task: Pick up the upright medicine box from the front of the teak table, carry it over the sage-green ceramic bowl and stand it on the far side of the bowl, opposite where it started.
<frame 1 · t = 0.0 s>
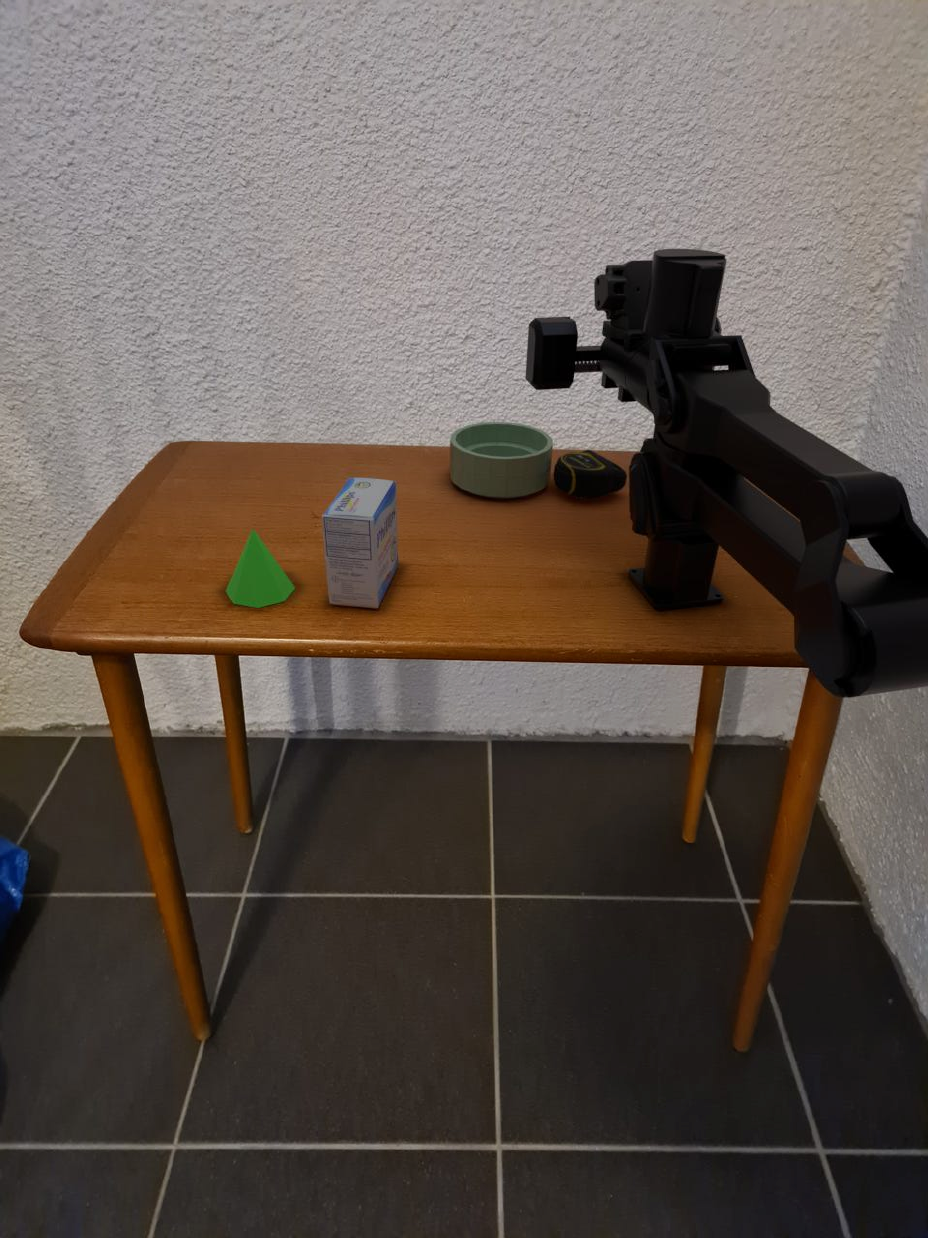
hand: (591, 329, 86), 17 cm above the table, tool horizontal, fingers open, 9 cm apart
tape measure: (586, 491, 92), on the table
green faceted cone: (260, 591, 72), on the table
bowl: (499, 481, 93), on the table
medicine box: (364, 587, 73), on the table
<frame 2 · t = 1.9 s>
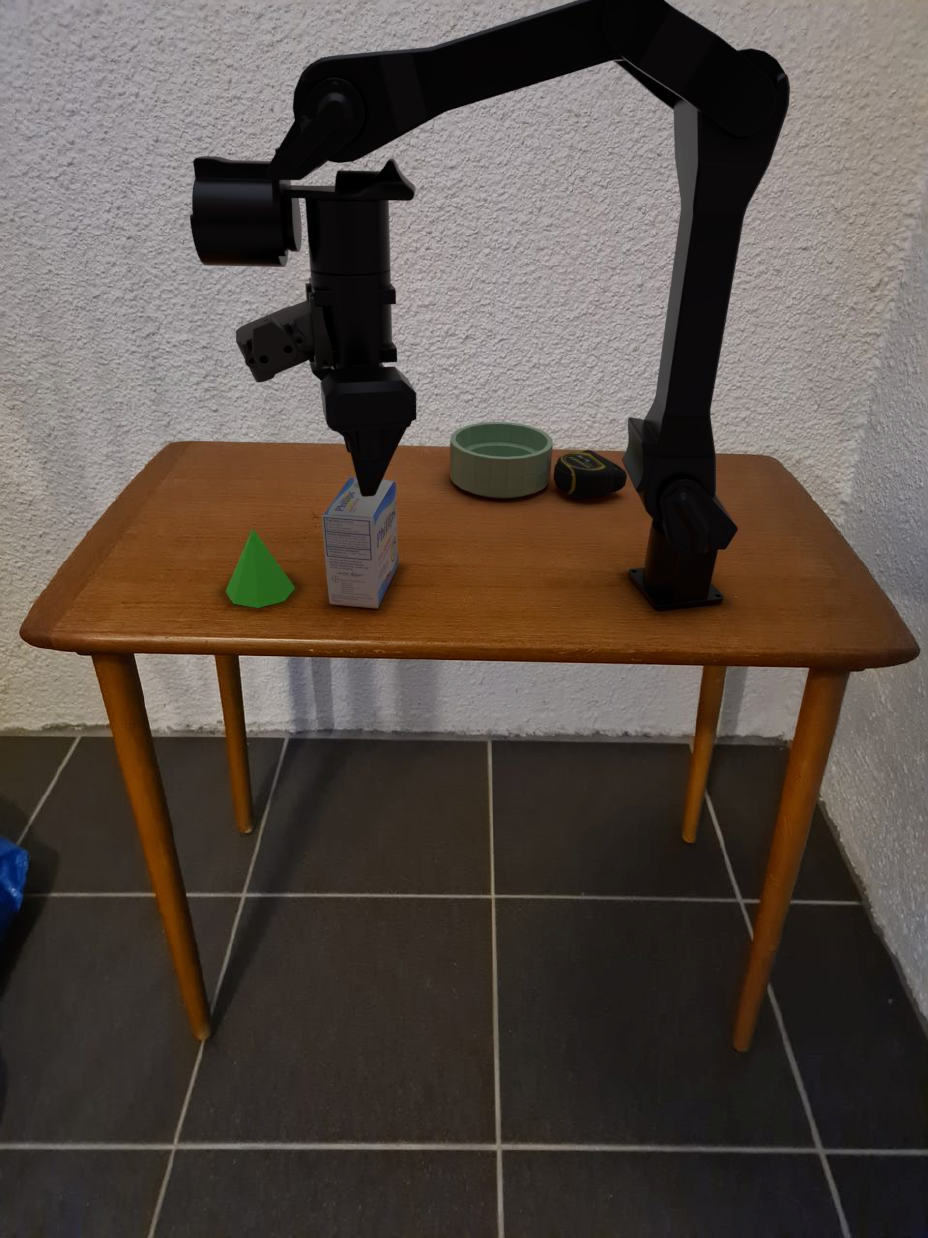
hand: (360, 472, 68), 11 cm above the table, tool pointing down, fingers open, 9 cm apart
nothing on the table moved.
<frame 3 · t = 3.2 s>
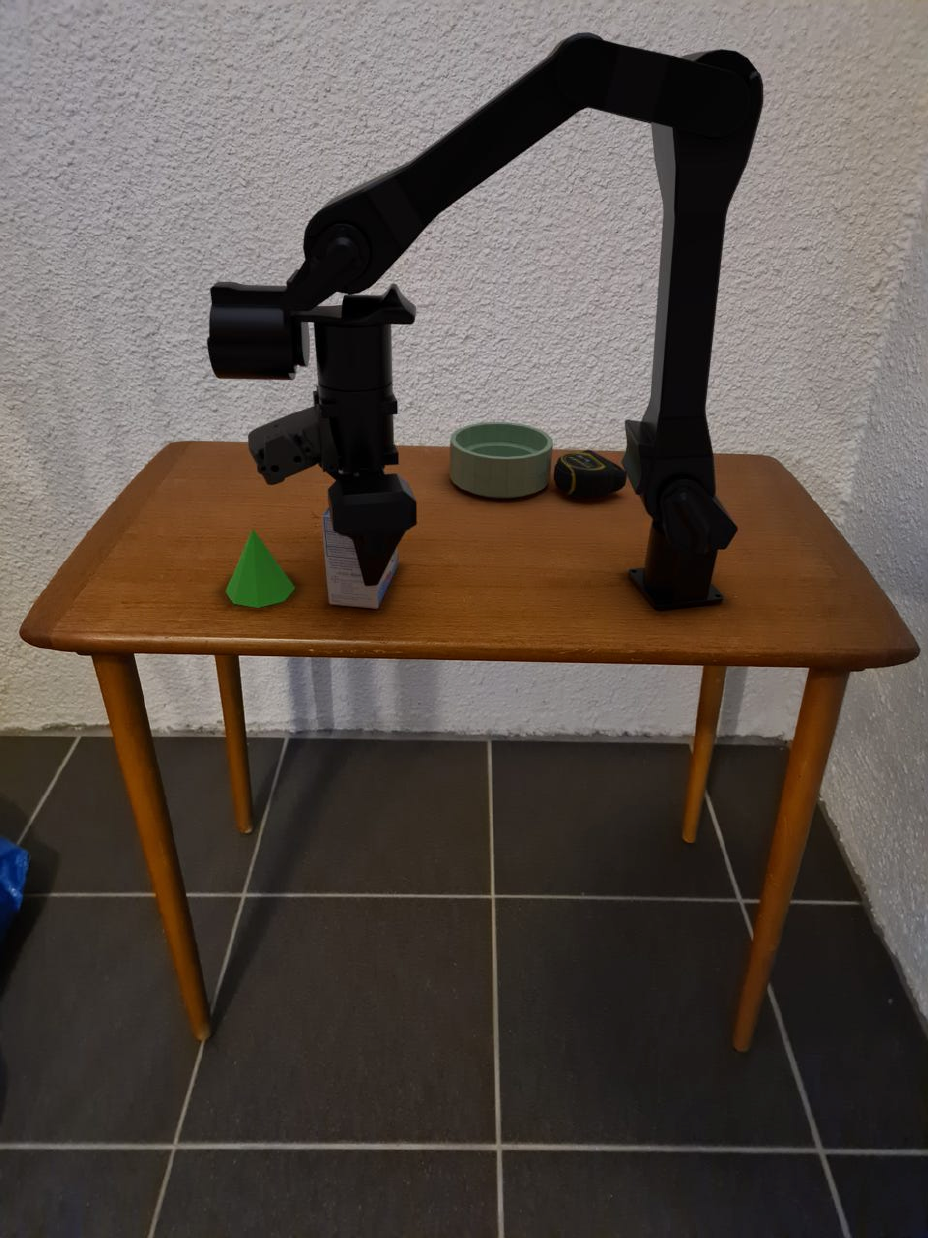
hand: (363, 558, 72), 3 cm above the table, tool pointing down, fingers closed on medicine box, 9 cm apart
medicine box: (364, 587, 73), on the table, touching gripper
everything else where it was.
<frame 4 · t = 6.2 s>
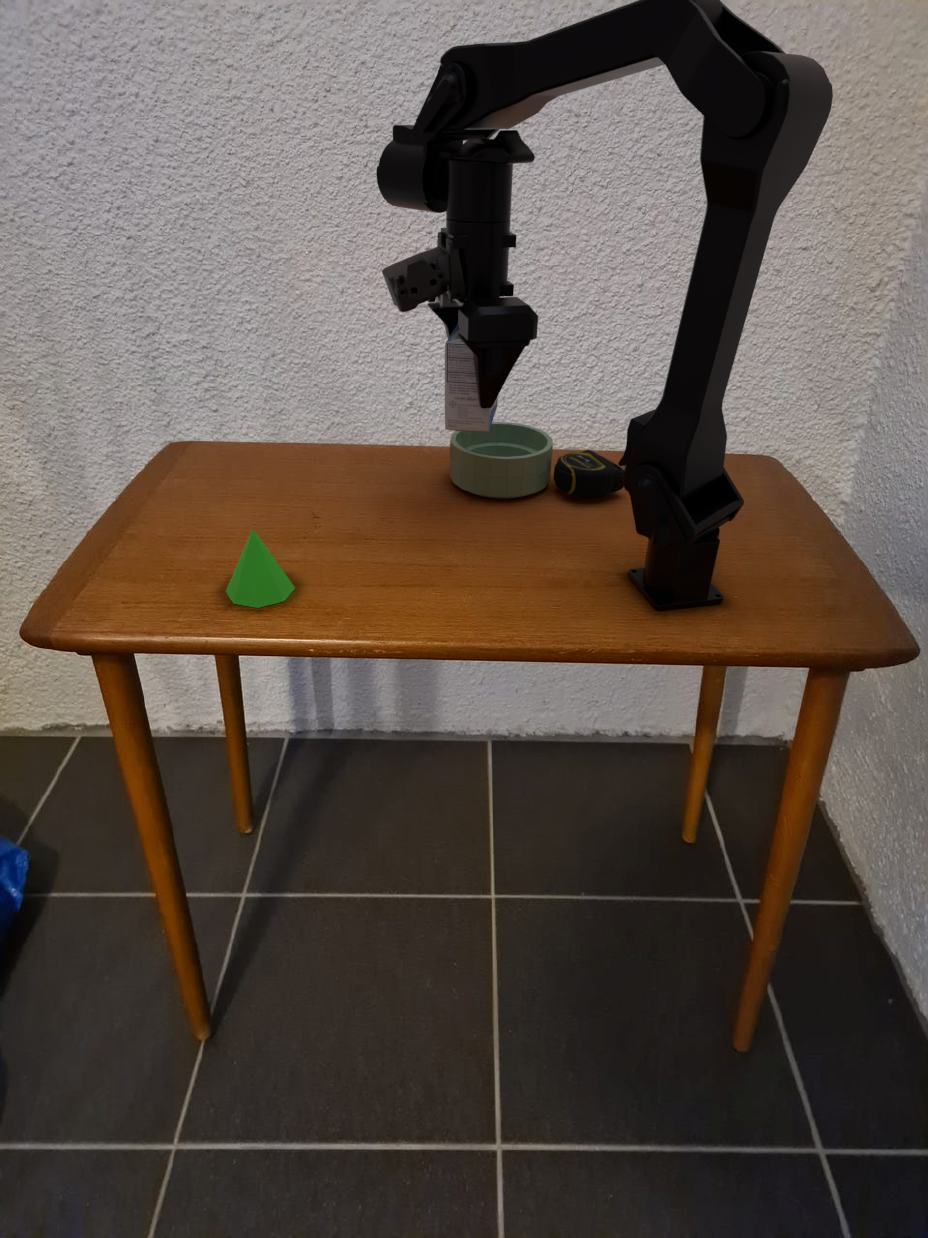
hand: (473, 392, 82), 12 cm above the table, tool pointing down, fingers closed on medicine box, 9 cm apart
medicine box: (471, 421, 83), point 9 cm above the table, touching gripper
everything else where it was.
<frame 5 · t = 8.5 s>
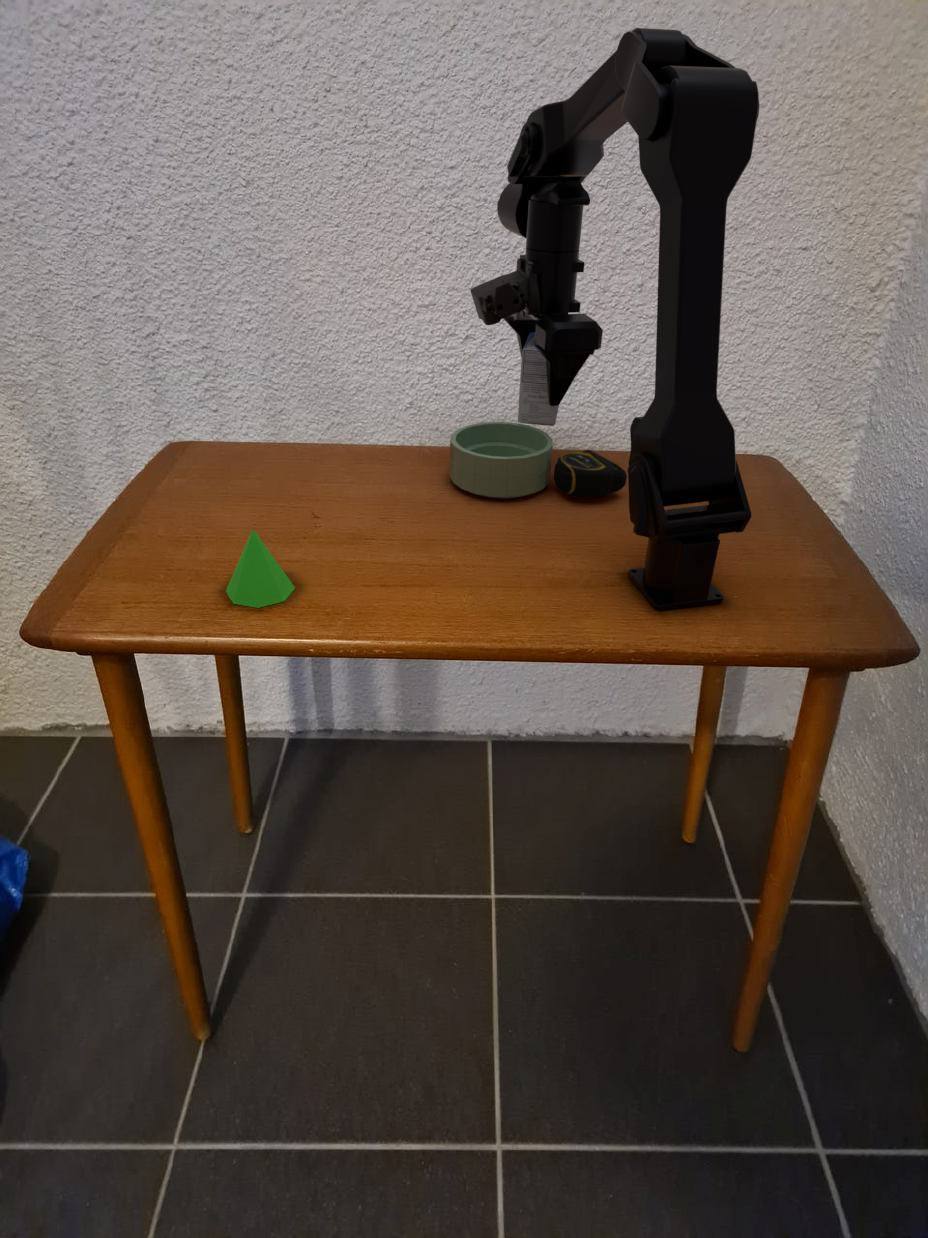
hand: (541, 392, 97), 8 cm above the table, tool pointing down, fingers closed on medicine box, 9 cm apart
medicine box: (538, 416, 98), point 5 cm above the table, touching bowl, gripper
everything else where it was.
when the fingers open (4 cm above the table, at t = 9.7 s): medicine box drops 2 cm, on the table.
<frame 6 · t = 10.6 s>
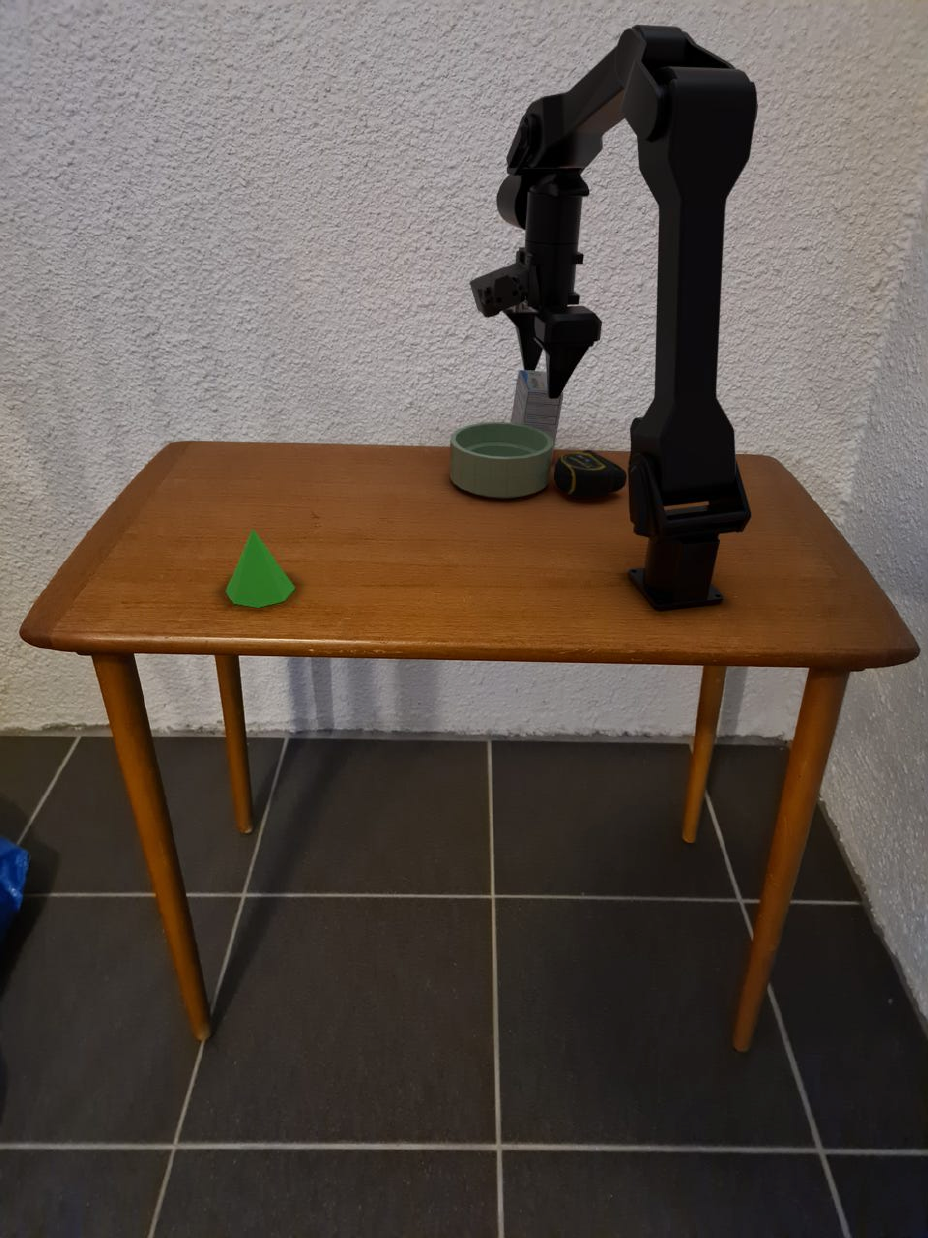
hand: (540, 385, 96), 8 cm above the table, tool pointing down, fingers open, 9 cm apart
medicine box: (528, 451, 101), on the table, touching gripper
everything else where it was.
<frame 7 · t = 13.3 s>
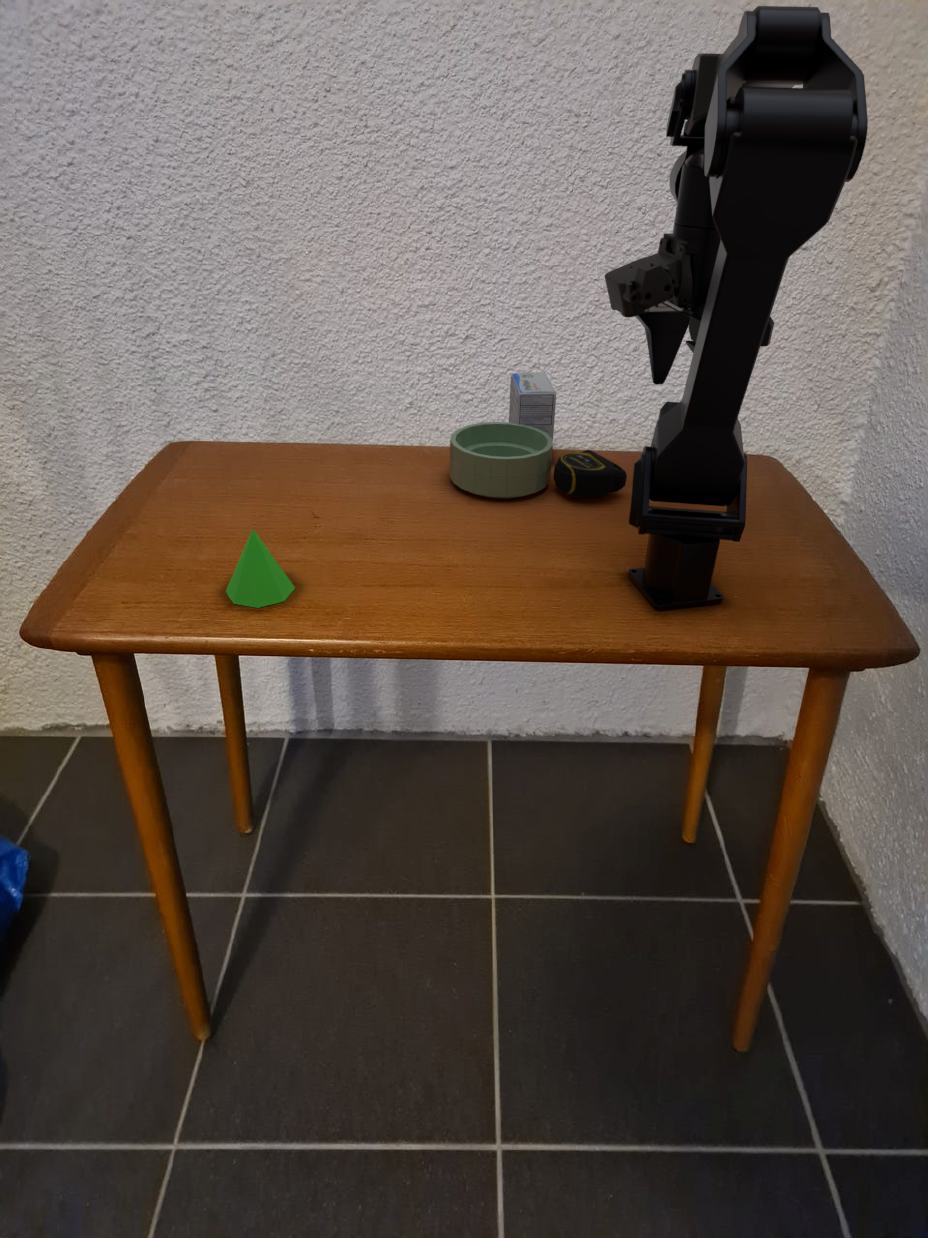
hand: (677, 397, 82), 12 cm above the table, tool pointing down, fingers open, 9 cm apart
medicine box: (528, 453, 101), on the table
everything else where it was.
at the end: medicine box 0.9 cm from the target spot on the table beside the bowl, on the table; medicine box tilted 0°; the gripper is holding nothing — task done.
